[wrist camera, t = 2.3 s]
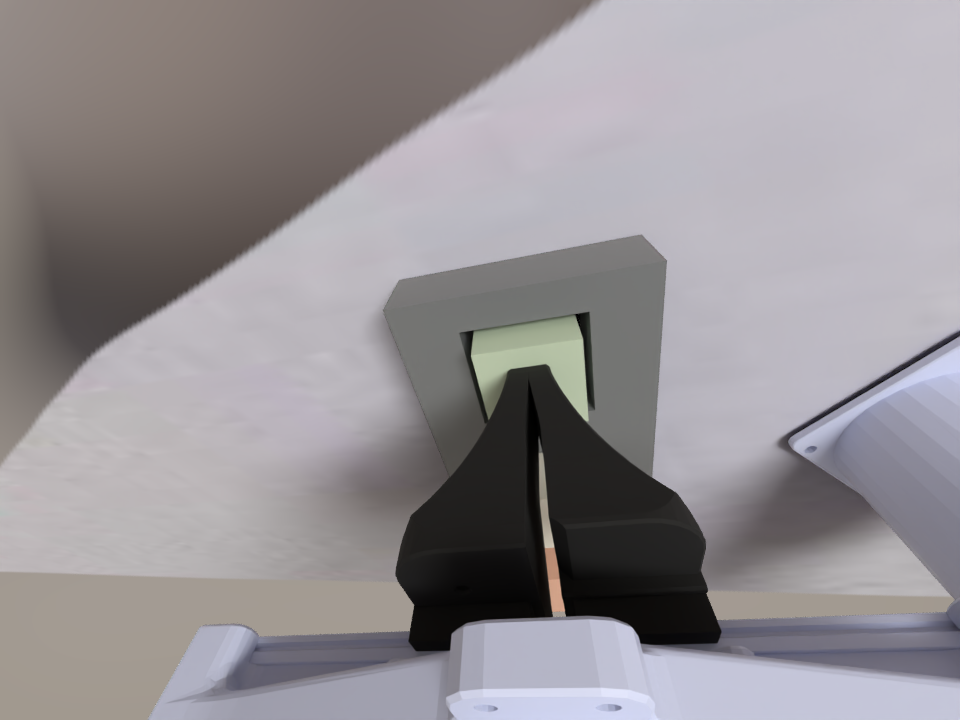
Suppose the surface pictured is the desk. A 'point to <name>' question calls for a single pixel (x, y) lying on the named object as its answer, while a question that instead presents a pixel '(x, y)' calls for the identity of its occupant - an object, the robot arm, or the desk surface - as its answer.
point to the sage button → (531, 357)
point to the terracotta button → (554, 580)
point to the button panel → (533, 296)
